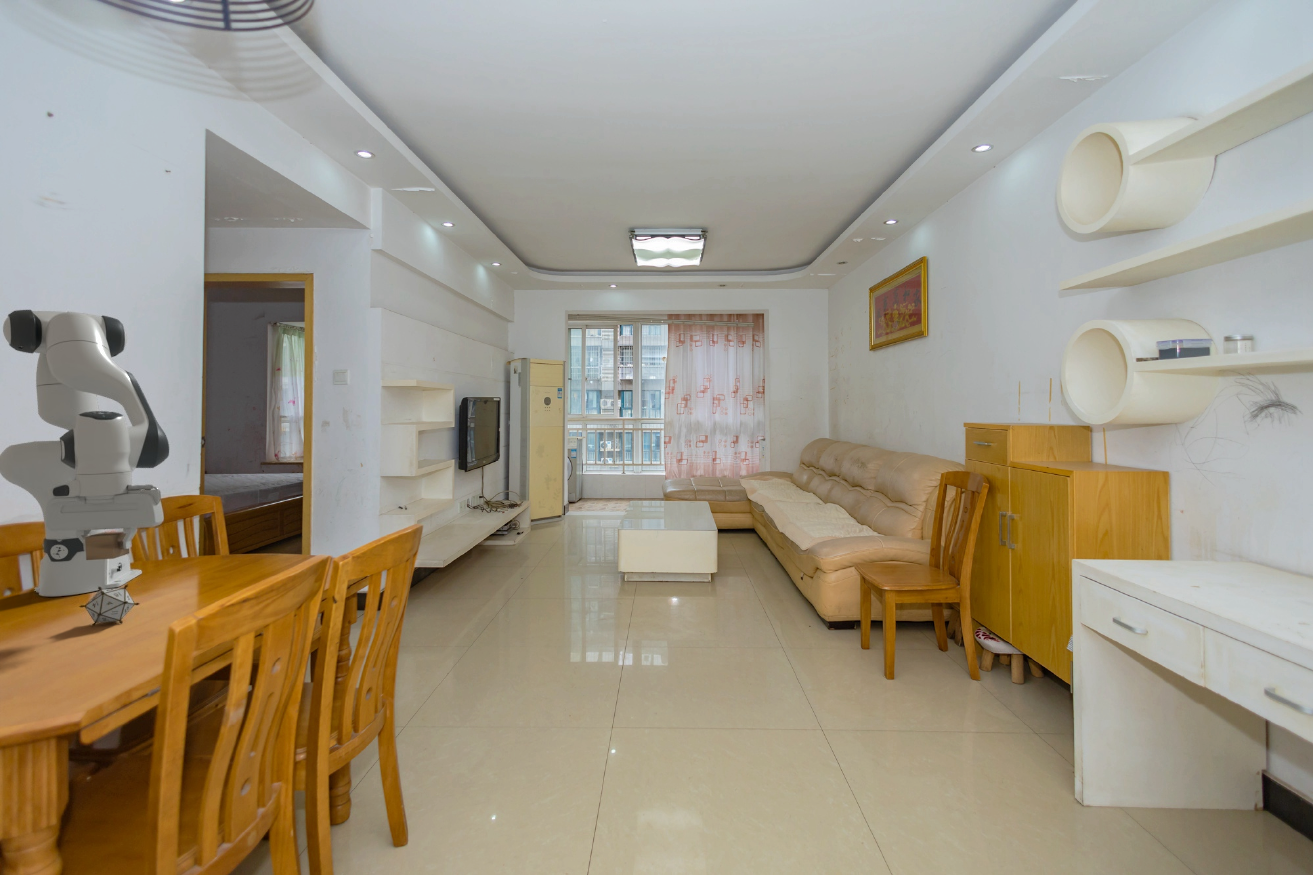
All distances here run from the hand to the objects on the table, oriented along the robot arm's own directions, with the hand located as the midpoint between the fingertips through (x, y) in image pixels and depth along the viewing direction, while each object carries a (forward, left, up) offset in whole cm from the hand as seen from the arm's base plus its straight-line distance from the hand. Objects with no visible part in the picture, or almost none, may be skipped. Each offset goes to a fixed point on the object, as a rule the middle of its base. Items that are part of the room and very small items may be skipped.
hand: (108, 549), depth 128 cm
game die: (0, 0, -17) cm, 17 cm away
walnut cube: (0, 0, -2) cm, 2 cm away
